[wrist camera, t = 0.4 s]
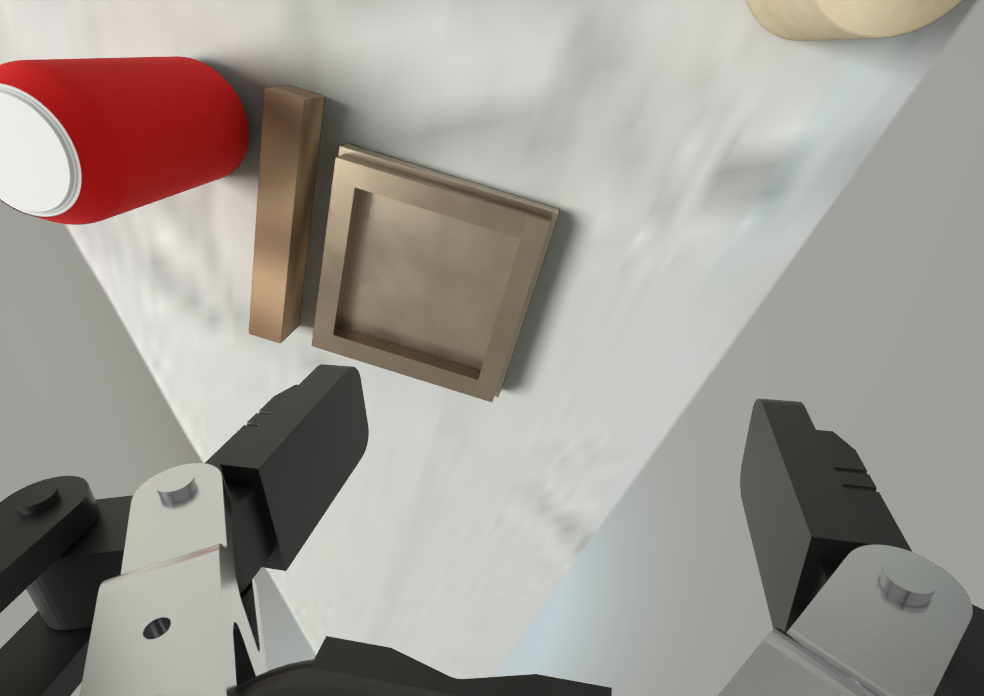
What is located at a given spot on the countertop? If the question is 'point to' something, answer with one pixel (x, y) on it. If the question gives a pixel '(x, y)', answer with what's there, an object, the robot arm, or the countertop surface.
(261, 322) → the sill
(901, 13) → the candle
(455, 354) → the tray
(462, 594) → the countertop surface
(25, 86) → the beverage can
